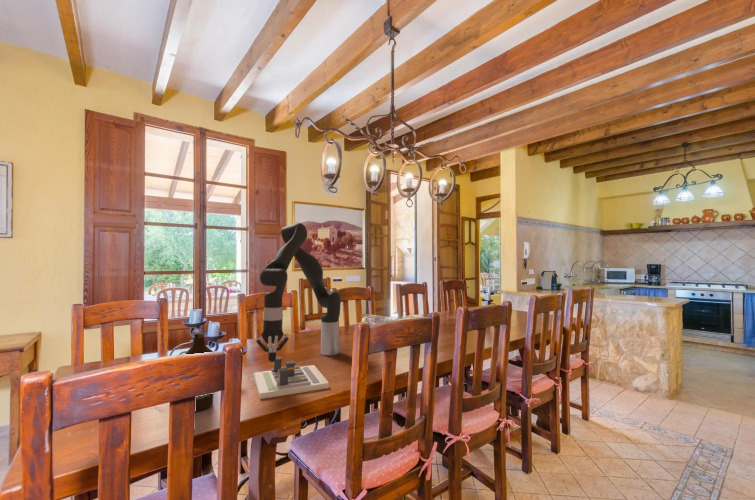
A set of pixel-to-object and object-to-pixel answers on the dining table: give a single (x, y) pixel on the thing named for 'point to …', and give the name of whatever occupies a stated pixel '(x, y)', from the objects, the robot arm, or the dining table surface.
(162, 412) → the dining table surface
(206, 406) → the olive oil
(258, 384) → the switch board
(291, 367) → the breaker handle
